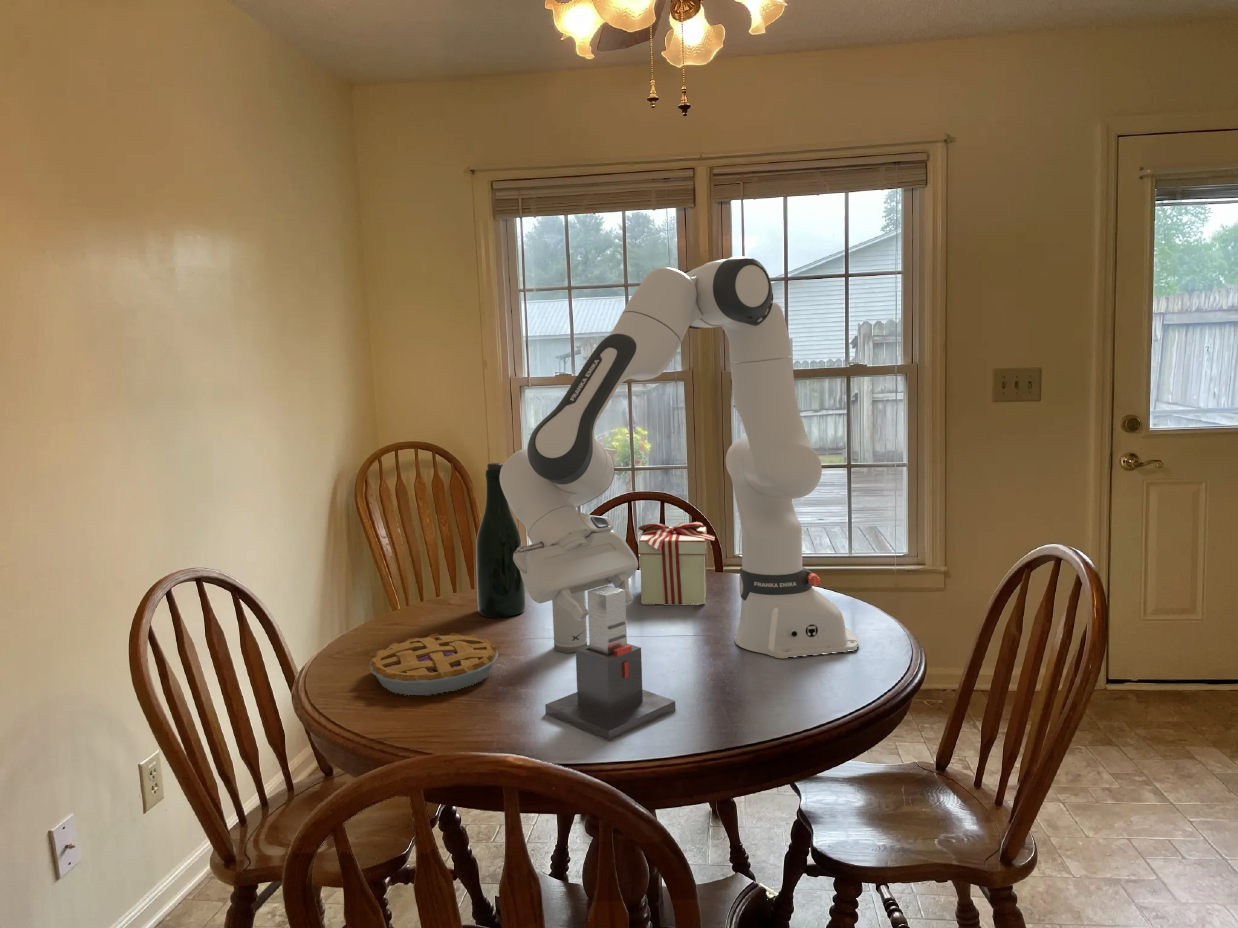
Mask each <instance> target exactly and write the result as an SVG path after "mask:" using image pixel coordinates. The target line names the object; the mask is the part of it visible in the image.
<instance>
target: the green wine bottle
mask: <svg viewBox="0 0 1238 928" xmlns="http://www.w3.org/2000/svg"><path fill="white" fill-rule="evenodd" d="M503 464H504V463H503V462H491V463H487V465H486V466H487V467H486V470H485V471H484V472H485V473H484V476H485V485H486V487H485V493H486V495H485V496H486V497H485V507H484V511H483V515H482V519H481V521H480V525H479V528H478V531H477V533H476V535H477V536H476V541H475V564H476V569H475V570H476V571H475V572H476V590H477V591H476V592H477V594H476V595H477V596H476V597H477V610H478V613H479V614H480V615H481V616H483V617H487V618H494V619H495V618H498V619H500V618H508V617H515V616H517V615H520V614H522V613H523V612H524V611H526V608H527V599H526V597H527V594H526V587H525V584H524V582H523V580H522V577H521V574H520V570H519V569H518V567H517V566H516V564H515V562H514V560H513V554H514V552H515V551H516V550H517V548H518V547H521V546H523V543H522V535H521V533H520V529H519V527H518V524H517V523H516V521H515V518H514V516H513V512H511V511H512V510H511V507H510V505H509V504H508V502H507V500H506V498H505V495H504V493H503V491H502V488H501V485H500V478H499V477H500V471H501V468H502V466H503Z"/></svg>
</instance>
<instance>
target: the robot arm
mask: <svg viewBox="0 0 1238 928" xmlns="http://www.w3.org/2000/svg"><path fill="white" fill-rule="evenodd" d="M720 327H721V328H722V330H724V333H725V335H726V337H727V340H728V347H729V348H728V349H729V363H730V364H729V365H730V375H731V385H732V395H733V403H734V404H733V405H734V407H735V410H736V411H737V413H738V414H739V417H740V420H741V422H742V425H743V427H744V432H745V434H746V435H745V436H742V437H740V438H738V439H736V440H735V441H733V443H732V444H731V445H730V446H729V447H728V450H727V453H726V456H725V466H726V470H727V472H728V474H729V476H730V479H731V482H732V487H733V491H734V495H735V497H734V498H735V502H736V506H737V511H738V515H739V516H738V517H739V522H740V529H741V530H740V532H741V565H742V566H741V567H740V568H739V582H738V583H739V585H738V586H739V596H740V598H741V601H740V602H741V603H740V612H739V620H738V625H737V630H736V634H735V637H734V642H735V644H736V645H737V646H739V647H740V648H743V649H744V650H748V651H751V652H754V653H755V652H756V653H760V654H765V655H768V656H771V657H773V656H774V657H773V658H776V659H789V658H788V657H793V658H795V657H794V656H803V655H813V656H815V655H814V654H822V653H832V652H843V651H848V650H855V649H856V648H857V647H858V648H859V641H858V640H859V639H858V637H857V636H856V635H855V633H854V632H853V631H852V630H850V629H849V628H847V627H846V624H845V620H844V616H843V613H842V611H841V609H840V608H839V606H838V605H836V604H835V603H834V602H833V601H831V600H830V599H829V598H828V597H826V596H825V595H823V594H822V593H821V592H819V590H817V589H815V588H814V587H817V586H819V584H820V583H821V578H820V577H819V576H818V575H817V573H813V571H811V570H809V569H807V568H806V567H804V566H803V528H802V524H801V522H800V520H799V519H798V516H797V514H796V511H795V507H794V504H793V500H794V499H800V498H804V497H806V496H808V495H810V494H811V493H812V492H814V491H815V489H816V488H817V487H818V485H819V484H820V481H821V479H822V473H823V470H822V469H823V468H822V462H821V459H820V456H819V455H818V453H817V452H816V451H815V450H814V448H813V447H812V445H811V442H810V440H809V438H808V434H807V431H806V428H805V425H804V422H803V419H802V416H801V413H800V409H799V405H798V402H797V401H798V400H797V396H796V395H797V394H796V388H795V386H796V385H795V378H794V377H795V376H794V367H793V357H792V347H791V340H790V336H789V335H790V334H789V331H788V326H787V323H786V318H785V315H784V312H783V309H782V307H781V306H780V304H779V303H778V302H776V301H775V300H774V293H773V285H772V281H771V278H770V276H769V273H768V271H767V269H766V268H765V266H764V265H763V264H762V263H761V262H760V261H758V260H756V259H755V258H752V257H748V256H732V257H729V258H727V259H725V258H724V259H718V260H713V261H709V262H706V263H704V264H703V265H700V266H698V267H696V268H694V269H689V270H686V271H684V272H683V271H680V270H678V269H676V268H673V267H672V268H671V267H667V266H666V267H665V266H664V267H663V266H662V267H659V268H658V267H657V268H655V269H653V270H652V271H650V272H649V273H648V274H647V276H646V277H645V278H644V279H643V280H642V281H641V283H640V285H638V286H637V288H636V290H635V291H634V293H633V294H632V295H631V297H630V299H629V300H628V301H627V303H626V306H625V307H624V309H623V310H622V312H621V315H620V317H619V319H618V320H617V322H616V324H615V325H614V327H613V329H612V331H610V333H609V335H607V336H606V337H605V338H604V339H602V340H601V342H599V344H598V345H597V346H596V347H595V349H594V350H593V352H592V353H591V355H589V357H588V359H587V360H586V362H585V363H584V365H583V366H582V368H581V370H580V371H579V372H578V374H577V376H576V377H575V379H574V380H573V382H572V384H571V385H570V386H569V388H568V390H567V391H566V393H565V394H564V396H563V397H562V399H561V400H560V402H559V403H558V404H557V406H556V407H555V408H554V409H553V410H552V411H551V412H550V413H549V414H548V415H547V416H546V417H545V418H543V419H542V420H541V421H539V423H538V424H537V425H536V427H535V428H534V429H533V431H532V433H531V434H530V437H529V439H528V443H527V448H522V449H520V450H517V451H516V452H514V453H513V454H511V456H508V458H507V459H506V460H505V462H504V463H502V464H503V466H502V468H501V471H500V477H499V478H500V485H501V488H502V491H503V493H504V495H505V498H506V500H507V502H508V504H509V507H510V510H511V511H512V514H514V516H515V517H516V519H517V520H518V521H520V522H521V524H522V526H524V528H525V531H526V534H527V535H526V536H527V537H528V539H529V541H530V543H531V544H529V545H522V546H521V547H518V548H517V550H516V551H515V552H514V554H513V560H514V562H515V564H516V566H517V567H518V569H519V570H520V574H521V577H522V580H523V582H524V584H525V590H526V591H527V593H528V595H529V597H530V599H531V600H532V601H533V602H535V603H538V604H543V603H547V602H551V601H552V600H555V599H556V601H557V602H558V604H559V605H560V606H562V607H563V608H565V609H566V610H568V611H569V612H571V613H572V615H573V617H574V618H575V620H576V621H577V620H581V619H584V618H585V617H586V618H587V617H588V608H585V605H584V603H582V604H579V603H577V602H576V601H575V600H574V599H573V598H571V597H570V596H571V595H573V594H576V593H580V592H583V591H585V592H587V591H589V590H593V589H596V588H600V587H603V586H610V585H613V587H615V588H619V589H624V590H625V601H626V606H629V605H631V604H632V603H633V602H634V599H635V598H634V596H633V595H632V593H631V591H630V584H629V579H630V578H631V577H632V576H633V575H634V574H635V573H636V572H637V570H638V569H639V561H638V558H637V557H636V554H635V553H634V551H633V550H632V549H631V547H630V545H628V542H626V541H625V539H624V537H622V535H620V534H619V532H617V531H614V530H613V528H614V523H613V521H612V520H611V519H610V518H609V517H607V516H599V515H591V514H588V513H584V512H579V511H578V510H577V508H579V507H581V506H583V505H585V504H587V503H589V502H591V501H593V500H594V499H597V498H598V497H600V496H601V495H603V494H604V493H605V492H606V491H607V490H608V489H609V488H610V486H611V485H612V483H613V481H614V478H615V471H616V469H615V463H614V459H613V457H612V456H611V455H610V453H609V452H608V451H607V450H606V449H605V448H604V447H603V445H602V444H601V443H600V441H597V439H596V437H595V428H596V425H597V422H598V420H599V419H600V417H601V415H602V414H603V412H604V411H605V410H606V407H607V406H608V404H609V402H610V400H611V399H612V397H613V396H614V394H615V392H616V391H617V389H618V388H619V387H620V385H622V384H623V383H624V382H625V381H627V380H630V379H631V380H634V381H647V380H652V379H655V378H657V377H659V376H661V375H662V374H663V373H664V372H665V370H666V369H667V368H668V367H669V366H670V364H671V362H672V361H673V359H674V357H676V354H677V351H678V349H679V347H680V345H681V344H682V342H683V339H684V337H685V335H686V332H687V330H688V329H693V330H700V329H705V328H707V329H708V328H709V329H710V328H711V329H712V328H720ZM803 657H804V656H803Z"/></svg>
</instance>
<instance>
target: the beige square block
mask: <svg viewBox="0 0 1238 928" xmlns="http://www.w3.org/2000/svg"><path fill="white" fill-rule="evenodd" d="M586 592H587V610H588V615H587V617H588V618H587V620H588V641H589V642H588V643H589V644H588V645H589V646H590V651H592V652H595V653H598V654H601V655H604V656H607V657H608V656H611V655H614V653H613V650H615V649H617V648H620V647H623V646H626V645H627V644H628V635H627V610H626V609H627V607H626V606H627V605H626V601H625V590H624V589H619V587H618V588H615V586H611V585H605V586H601V587H598V588H594V589H591V590H587V591H586Z"/></svg>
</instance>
